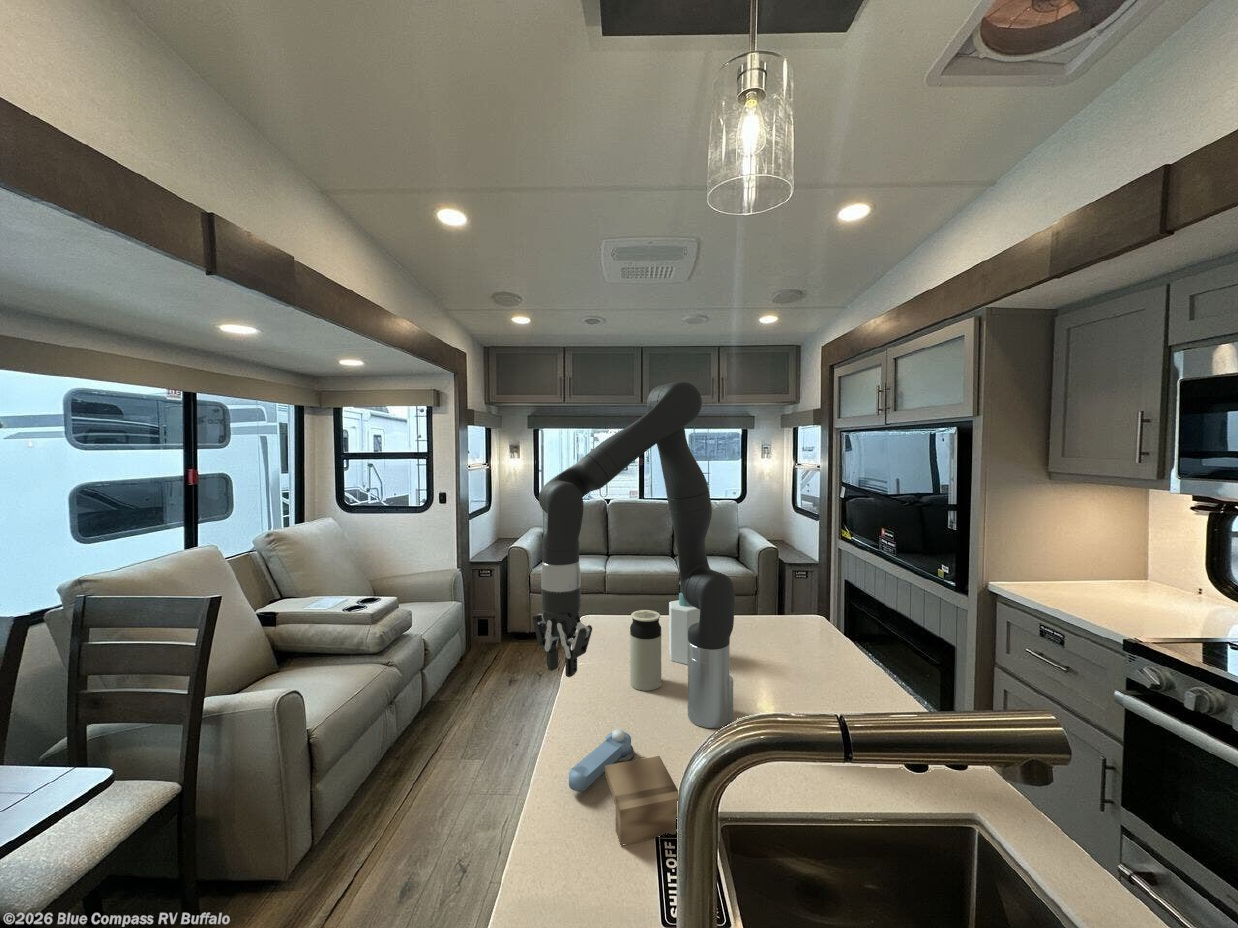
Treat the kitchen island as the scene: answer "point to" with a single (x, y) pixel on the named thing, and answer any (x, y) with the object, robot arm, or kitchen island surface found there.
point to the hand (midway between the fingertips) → (561, 671)
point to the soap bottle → (680, 628)
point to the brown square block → (642, 799)
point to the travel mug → (645, 650)
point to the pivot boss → (626, 757)
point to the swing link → (599, 760)
